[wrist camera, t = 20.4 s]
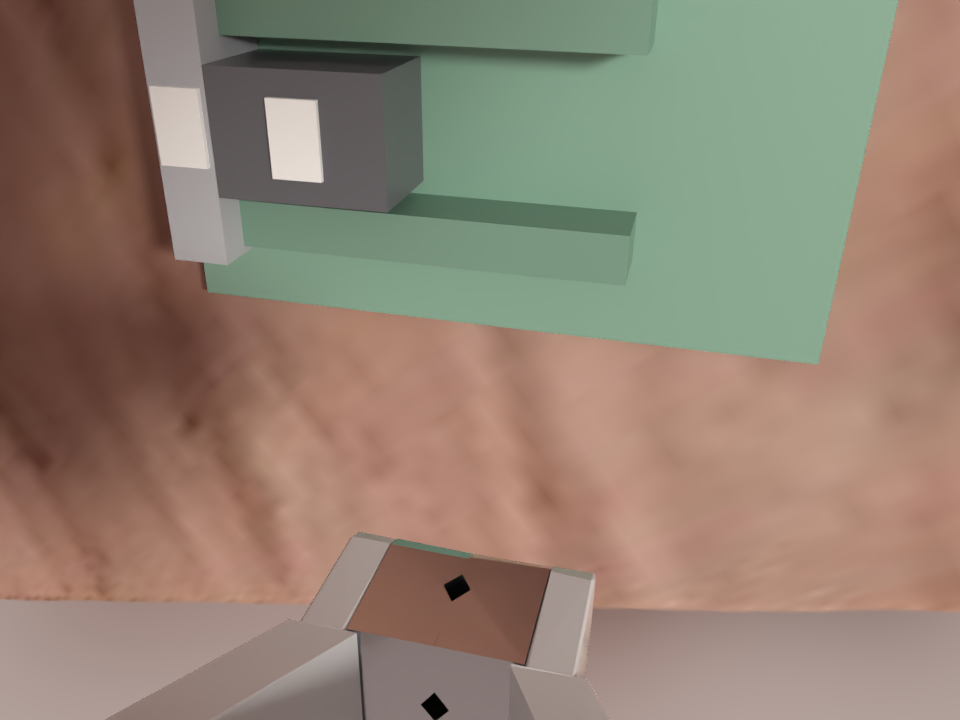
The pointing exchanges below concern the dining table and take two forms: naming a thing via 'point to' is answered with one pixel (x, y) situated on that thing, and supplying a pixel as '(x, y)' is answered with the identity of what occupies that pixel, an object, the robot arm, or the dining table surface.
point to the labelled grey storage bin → (316, 127)
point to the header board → (557, 163)
